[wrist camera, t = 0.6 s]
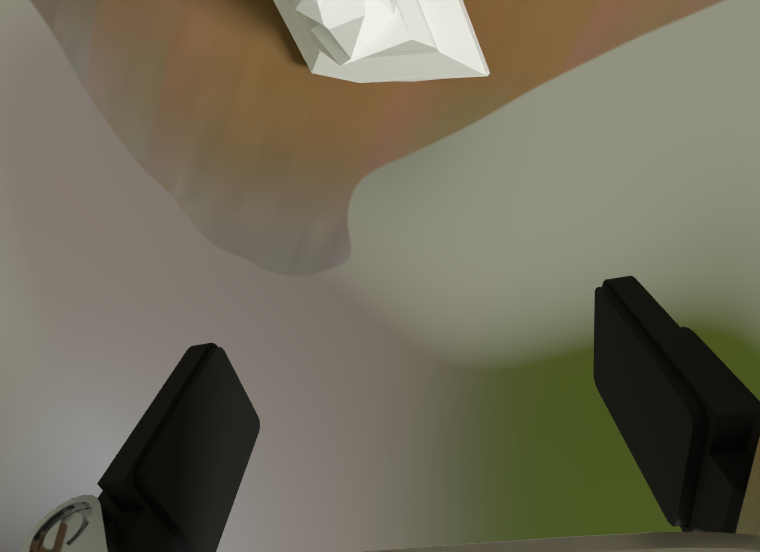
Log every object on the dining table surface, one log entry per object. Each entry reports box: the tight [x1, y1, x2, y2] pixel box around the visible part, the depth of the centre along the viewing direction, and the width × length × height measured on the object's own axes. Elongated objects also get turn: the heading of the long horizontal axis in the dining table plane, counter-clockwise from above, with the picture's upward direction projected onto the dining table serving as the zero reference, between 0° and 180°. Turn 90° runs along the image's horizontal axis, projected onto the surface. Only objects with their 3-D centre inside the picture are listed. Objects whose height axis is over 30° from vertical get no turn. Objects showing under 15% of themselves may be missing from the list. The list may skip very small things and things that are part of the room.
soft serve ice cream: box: [273, 0, 490, 83], centre depth 27 cm, size 12×15×14 cm
